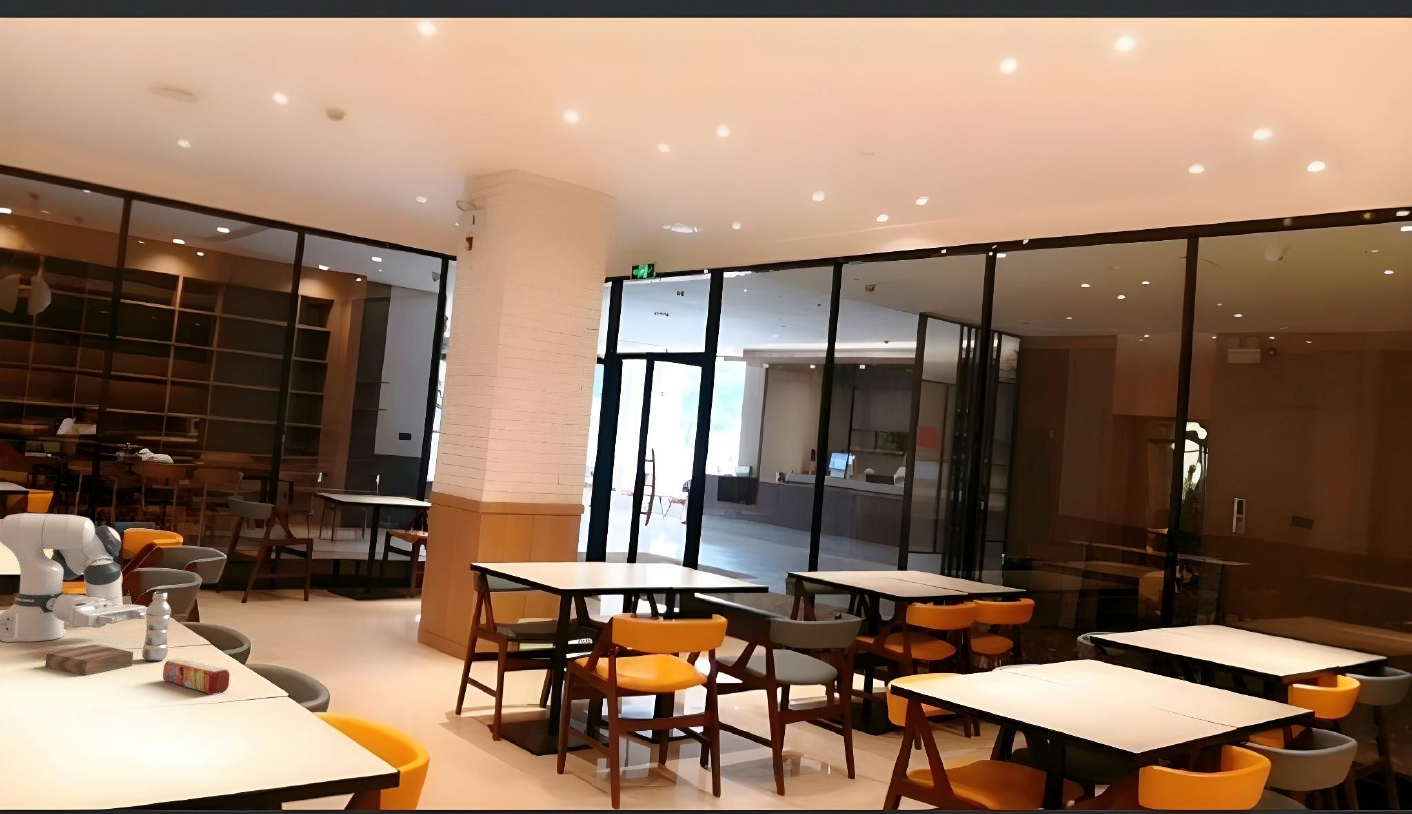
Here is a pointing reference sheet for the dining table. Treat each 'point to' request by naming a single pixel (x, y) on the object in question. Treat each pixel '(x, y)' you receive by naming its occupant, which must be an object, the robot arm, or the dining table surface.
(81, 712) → the dining table surface
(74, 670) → the walnut stand
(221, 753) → the dining table surface
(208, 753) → the dining table surface
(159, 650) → the plastic bottle
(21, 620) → the robot arm
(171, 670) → the snack package
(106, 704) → the dining table surface
